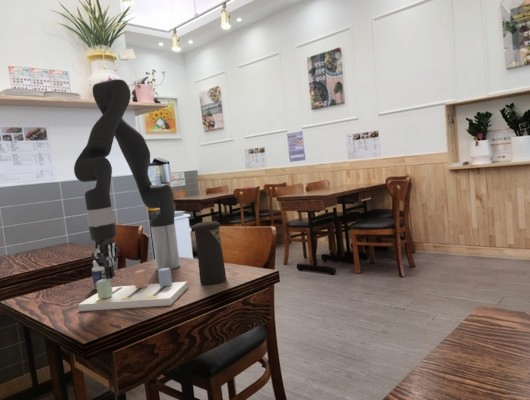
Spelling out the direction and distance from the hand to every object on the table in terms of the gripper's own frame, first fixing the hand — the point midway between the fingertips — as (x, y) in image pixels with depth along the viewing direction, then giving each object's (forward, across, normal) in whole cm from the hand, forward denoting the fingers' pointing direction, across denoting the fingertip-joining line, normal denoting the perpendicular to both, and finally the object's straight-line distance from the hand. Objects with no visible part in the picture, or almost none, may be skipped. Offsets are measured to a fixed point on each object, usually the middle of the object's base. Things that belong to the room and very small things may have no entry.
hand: (110, 277), depth 126 cm
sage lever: (+5, +4, 0) cm, 6 cm away
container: (+8, -12, +29) cm, 32 cm away
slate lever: (+5, -4, +16) cm, 17 cm away
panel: (+7, +1, +8) cm, 11 cm away
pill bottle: (+7, -15, -12) cm, 21 cm away
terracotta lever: (+5, -4, +8) cm, 10 cm away
